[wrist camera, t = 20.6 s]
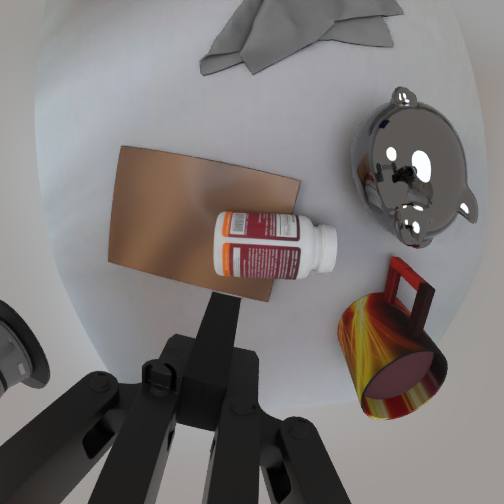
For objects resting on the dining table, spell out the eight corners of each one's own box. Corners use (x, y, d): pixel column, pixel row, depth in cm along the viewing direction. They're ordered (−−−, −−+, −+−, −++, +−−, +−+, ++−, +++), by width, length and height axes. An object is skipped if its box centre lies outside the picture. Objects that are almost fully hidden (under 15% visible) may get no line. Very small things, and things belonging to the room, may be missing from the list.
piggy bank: (357, 246, 31) (398, 290, 20) (319, 114, 27) (349, 89, 16) (437, 220, 30) (497, 248, 19) (408, 96, 25) (466, 75, 14)
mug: (393, 250, 31) (446, 294, 20) (409, 338, 35) (446, 395, 23) (318, 280, 33) (342, 340, 21) (346, 365, 36) (367, 430, 25)
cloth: (376, -33, 19) (381, -42, 17) (420, 49, 23) (429, 44, 21) (176, -1, 23) (170, -9, 21) (206, 90, 27) (201, 84, 25)
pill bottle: (219, 273, 31) (322, 279, 31) (210, 277, 25) (337, 284, 24) (223, 215, 31) (325, 222, 31) (215, 205, 25) (341, 213, 25)
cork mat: (110, 260, 33) (107, 261, 33) (123, 145, 29) (120, 145, 28) (267, 300, 34) (267, 302, 33) (300, 180, 29) (300, 181, 29)
